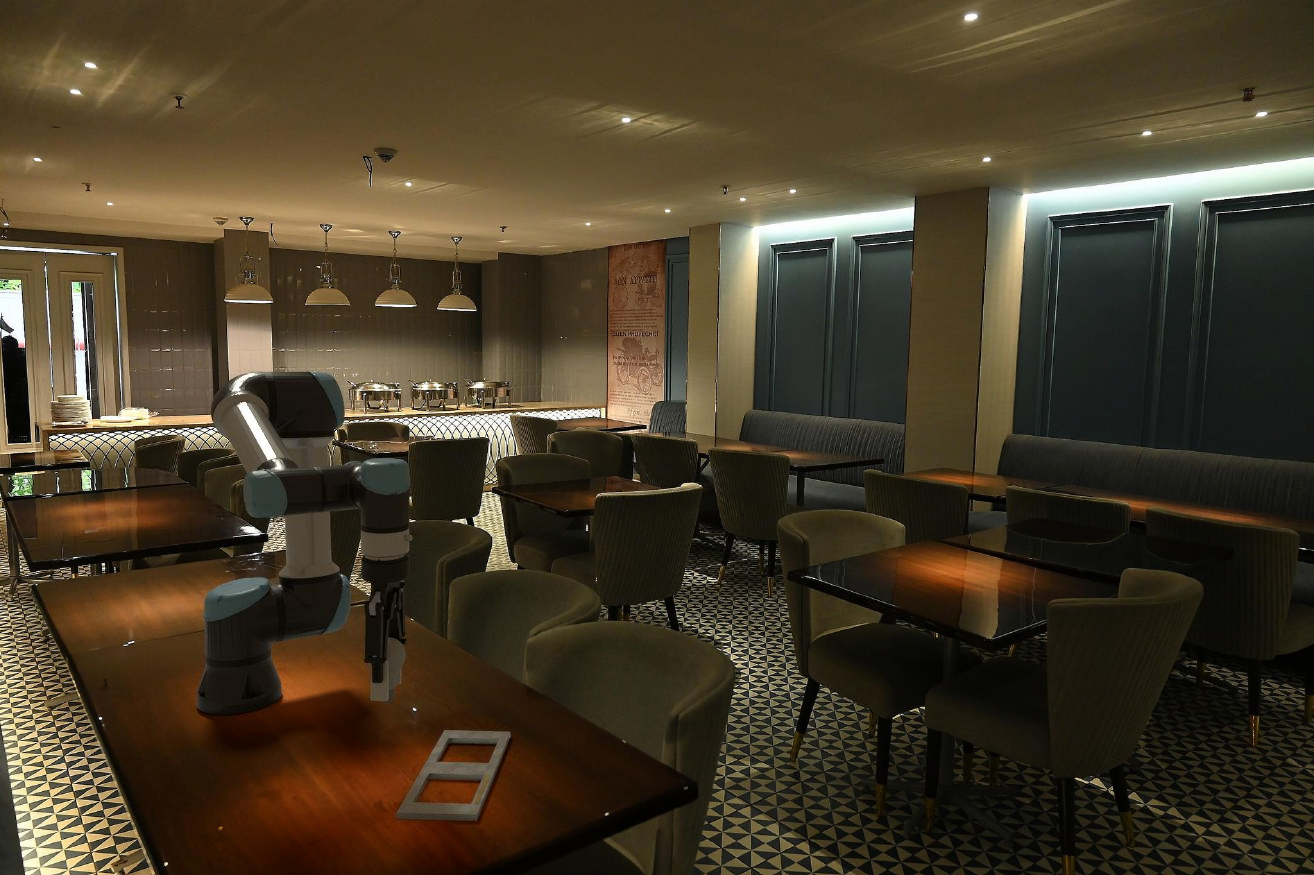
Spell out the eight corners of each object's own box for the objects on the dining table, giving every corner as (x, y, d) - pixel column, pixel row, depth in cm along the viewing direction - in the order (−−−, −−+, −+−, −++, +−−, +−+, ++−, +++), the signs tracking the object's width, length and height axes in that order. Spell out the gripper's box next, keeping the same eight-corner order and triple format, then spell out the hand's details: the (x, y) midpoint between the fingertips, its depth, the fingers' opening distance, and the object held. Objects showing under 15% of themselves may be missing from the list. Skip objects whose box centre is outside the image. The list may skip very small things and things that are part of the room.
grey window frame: (396, 818, 128) (396, 812, 128) (444, 735, 156) (444, 729, 156) (476, 820, 128) (476, 814, 128) (510, 736, 156) (510, 731, 156)
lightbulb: (371, 695, 145) (371, 631, 144) (408, 694, 145) (409, 631, 144) (362, 710, 139) (362, 644, 137) (401, 710, 139) (401, 644, 138)
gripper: (390, 570, 130) (390, 717, 132) (424, 541, 148) (424, 670, 151) (340, 569, 130) (342, 715, 132) (381, 540, 149) (382, 668, 151)
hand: (386, 691), depth 142 cm, fingers closed on lightbulb, 6 cm apart
